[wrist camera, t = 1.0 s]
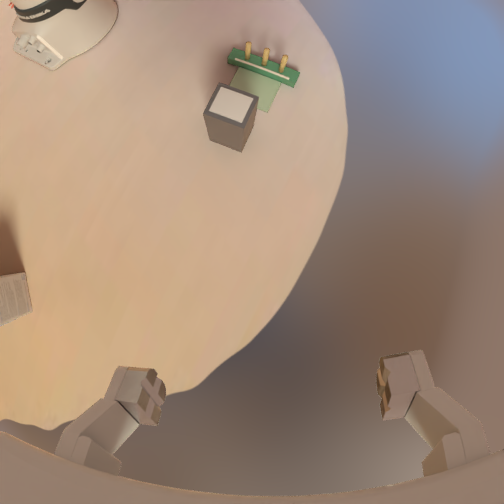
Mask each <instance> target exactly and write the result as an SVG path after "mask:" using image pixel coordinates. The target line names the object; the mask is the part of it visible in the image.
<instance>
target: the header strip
mask: <svg viewBox="0 0 504 504" xmlns="http://www.w3.org/2000/svg"><path fill="white" fill-rule="evenodd" d="M269 51H270V49H269V48H265V49H264V53H263V58H262V57H259V56H256V55H254V54H251V53H250V52H251V42H249V41H248V42H246V49H245V51H242V50H239V49H236V48H233V50H232V52H231V53H230V55H229V57H228V63H229V64H232V65H235V66H238V67H241V68H244V69H247V70H250V71H253V72H255V73H258V74H261V75H263V76H266V77H269V78H271V79H274V80H276V81H279V82H281V83H284V84H286V85H288V86H291V87H293V88H294V85H295V83H296V81H297V79H298V77H299V74H300V72H298V71H295V70H293V69H291V68H288V67H286V66H285V65H286V62H287V59H288V56H287V55H283V57H282V60H281V64H278V63H275V62H273V61H270V60H268V56H269Z"/></svg>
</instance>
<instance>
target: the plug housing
mask: <svg viewBox="0 0 504 504" xmlns="http://www.w3.org/2000/svg"><path fill="white" fill-rule="evenodd" d="M258 101H259V97H258V96H256V95H253V94H250V93H248V92H245V91H242V90H240V89H237V88H234V87H231V86H228V85H225V84H222V83H219V84H218V86H217V88H216V89H215V91H214V93H213V95H212V97H211V99H210V101H209V103H208V105H207V107H206V109H205V111H204V113H203V116H204V119H205V123H206V127H207V131H208V135H209V138H210V140H211V141H213V142H216V143H219V144H221V145H224V146H226V147H229V148H231V149H234V150H236V151H239V152H241V153H242V150H243V148H244V146H245V144H246V142H247V139H248V137H249V135H250V133H251V131H252V128H253V126H254V121H255V116H256V111H257V106H258Z"/></svg>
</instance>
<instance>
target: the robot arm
mask: <svg viewBox="0 0 504 504" xmlns="http://www.w3.org/2000/svg"><path fill="white" fill-rule="evenodd" d="M10 1H11V3H10V4H9V6H10V5H11V4H12V3H13V5H12V7H11V8H13V7H14V8H15V11H16V14H17V17H16V19H15V21H14V23H13V26H12V32H13V33H14V35H15V36H17V38H16V41H15V43H14V48H13V50H14V51H15V52H16V53H18V54H20V55H22V56H24V57H26V58H28V59H30V60H32V61H34V62H36V63H38V64H40V65H42V66H43V67H45V68H47V69H49V70H55V69H57V68H58V67H59V66H61V65H62V64H63V63H64V62H66V61H67V60H68V59H70V58H72V57H75V56H77V55H79V54H82V53H83V52H85V51H87V50H89V49H90V48H92V47H93V46H94V45H96V44H97V43H98V42H99V41H100V40H101V39H102V38H103V37H104V36H105V35H106V34H107V33H108V32H109V31H110V29H111V28H112V26H113V25H114V23H115V21H116V18H117V14H118V8H117V5H116V3H115V2H114V0H10ZM379 366H380V368H379V369H378V370H377V374H376V386H377V393H378V395H379V396H380V397H381V398H382V399H381V402H380V410H381V415H382V420H390V419H396V418H402V417H405V419H406V420H407V421H408V422H409V423H410V424H411V426H412V427H413V428H414V429H415V430H416V431H417V432H418V434H420V436H421V437H422V438H423V439H424V440H425V441H426V442H427V444H428V445H429V446H430V447H431V448H432V449H433V450H432V451H431V452H430V453H429V454H428V456H427V457H426V458H425V459H424V460H423V461H422V468H423V475H424V477H422V478H418V479H414V480H410V481H405V482H401V483H396V484H391V485H386V486H381V487H375V488H369V489H363V490H356V491H348V492H341V493H331V494H319V495H302V496H246V495H229V494H217V493H207V492H199V491H191V490H184V489H178V488H171V487H166V486H161V485H156V484H150V483H146V482H141V481H137V480H133V479H129V478H125V477H121V476H119V471H120V468H121V464H122V463H121V461H120V460H118V459H117V458H116V457H114V456H113V454H114V452H115V451H116V450H117V449H118V448H119V447H120V446H121V445H122V444H123V443H124V441H125V440H126V439H127V438H128V437H129V436H130V435H131V434H132V433H133V432H134V430H135V429H136V428H137V427H138V426H139V424H145V425H156V426H158V423H159V419H160V416H161V409H160V406H161V405H162V404H163V403H164V401H165V398H166V388H165V384H164V383H163V381H162V380H161V379H159V378H157V372H156V371H155V370H154V369H151V368H136V367H125V366H119V367H118V368H117V369H116V370H115V373H114V375H113V377H112V380H111V382H110V384H109V387H108V389H107V392H106V394H105V397H104V399H100V400H98V401H97V402H96V403H95V404H94V405H92V406H91V407H90V408H89V409H88V410H86V411H85V412H84V413H83V414H82V415H80V416H79V417H78V418H77V419H76V420H74V421H73V422H72V423H71V424H70V425H68V426H67V427H66V428H65V429H64V430H63V433H62V435H61V438H60V440H59V443H58V445H57V448H56V450H55V453H54V454H51V453H49V452H47V451H44V450H42V449H40V448H37V447H35V446H33V445H31V444H28V443H26V442H24V441H22V440H20V439H18V438H16V437H14V436H12V435H10V434H8V433H6V432H0V504H504V449H502V450H500V451H497V452H495V453H493V454H490V451H489V447H488V444H487V440H486V436H485V433H484V429H483V426H482V423H481V422H480V421H479V420H477V418H475V417H474V416H473V415H472V414H471V413H470V412H468V411H467V410H466V409H465V408H464V407H462V406H461V405H460V404H459V403H457V402H456V401H455V400H454V399H453V398H451V397H450V396H449V395H448V394H447V393H445V392H444V391H443V390H442V389H441V388H439V387H436V388H435V386H434V382H433V379H432V376H431V373H430V370H429V367H428V364H427V361H426V358H425V355H424V352H423V351H422V350H417V351H412V352H404V353H399V354H394V355H389V356H382V357H380V360H379Z"/></svg>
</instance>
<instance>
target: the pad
mask: <svg viewBox="0 0 504 504" xmlns="http://www.w3.org/2000/svg"><path fill="white" fill-rule="evenodd" d="M280 85H281V82H279V81H276V80H274V79H271V78H269V77H266V76H263V75H261V74H258V73H255V72H253V71H250V70H247V69H244V68H241V67H239V68H238V70H237V72H236V74H235V76H234V77H233V79H232V81H231V83H230V85H229V86H231V87H234V88H237V89H240V90H242V91H245V92H248V93H250V94H253V95H256V96H258V97H259V101H258V106H257V109H260V110H262V111H265V112H267V113H268V111H269V108H270V106H271V104H272V102H273V100H274V98H275V96H276V93H277V91H278V89H279V87H280Z"/></svg>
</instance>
